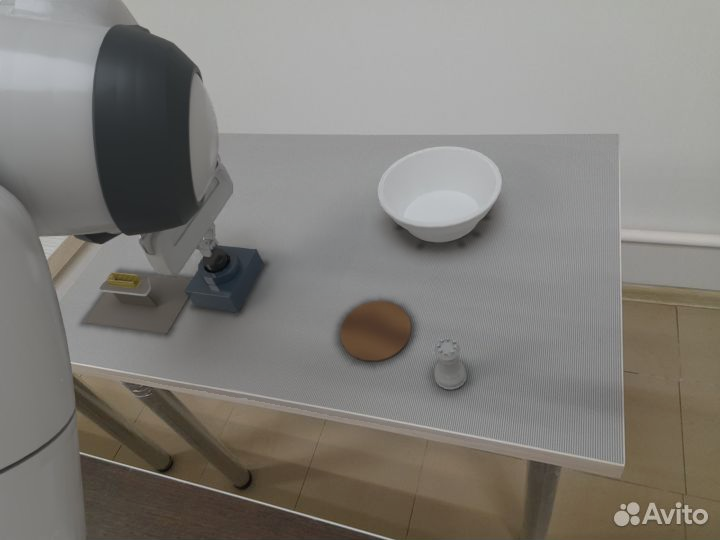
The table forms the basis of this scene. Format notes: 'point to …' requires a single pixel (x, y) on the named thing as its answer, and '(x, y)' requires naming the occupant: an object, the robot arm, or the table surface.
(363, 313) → the coaster
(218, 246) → the blue push button box
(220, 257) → the dark grey push button
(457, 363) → the rook chess piece
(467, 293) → the table surface
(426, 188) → the bowl
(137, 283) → the platform
